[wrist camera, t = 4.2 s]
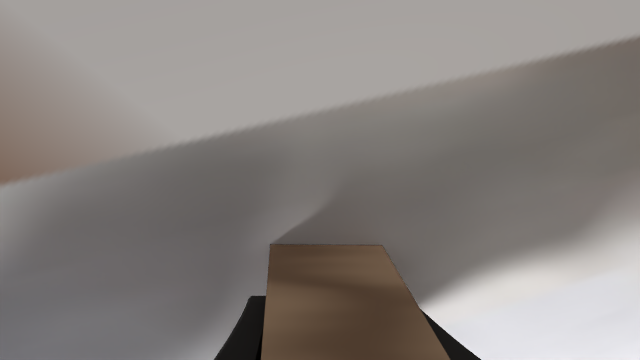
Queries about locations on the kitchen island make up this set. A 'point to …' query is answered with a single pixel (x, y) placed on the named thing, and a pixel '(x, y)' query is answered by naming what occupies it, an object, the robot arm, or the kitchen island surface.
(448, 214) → the kitchen island surface
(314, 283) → the walnut block
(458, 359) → the robot arm
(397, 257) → the kitchen island surface
